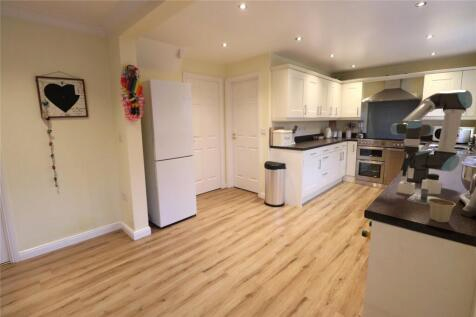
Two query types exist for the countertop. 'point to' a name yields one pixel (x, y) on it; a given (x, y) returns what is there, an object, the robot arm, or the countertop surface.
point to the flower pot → (440, 209)
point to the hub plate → (417, 199)
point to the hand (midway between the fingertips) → (406, 179)
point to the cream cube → (406, 187)
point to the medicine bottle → (432, 184)
